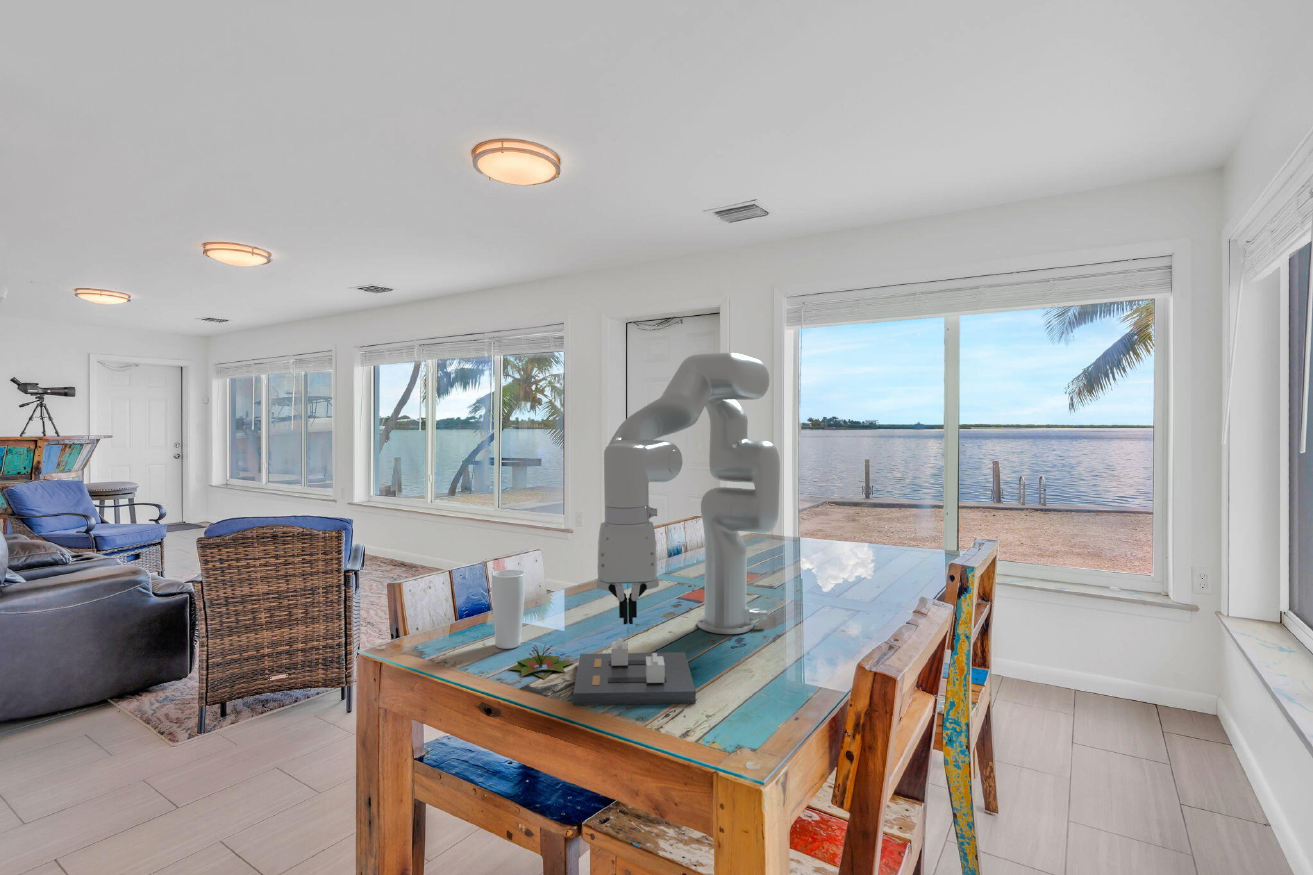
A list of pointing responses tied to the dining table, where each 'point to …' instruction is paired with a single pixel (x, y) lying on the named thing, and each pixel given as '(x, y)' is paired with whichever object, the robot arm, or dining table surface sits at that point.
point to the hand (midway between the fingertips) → (628, 621)
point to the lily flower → (540, 664)
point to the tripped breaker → (655, 669)
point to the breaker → (619, 652)
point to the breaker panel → (632, 681)
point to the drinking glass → (508, 607)
